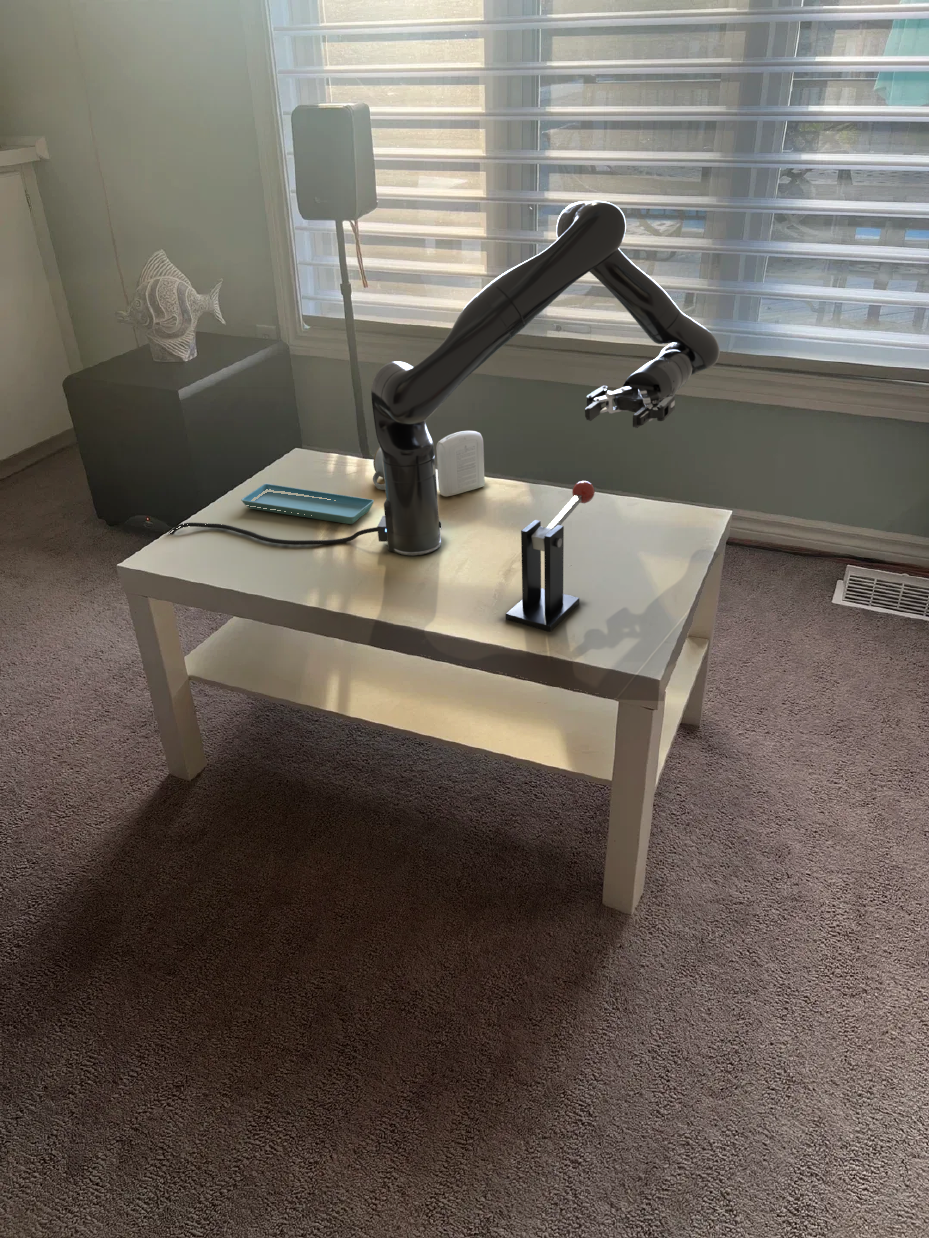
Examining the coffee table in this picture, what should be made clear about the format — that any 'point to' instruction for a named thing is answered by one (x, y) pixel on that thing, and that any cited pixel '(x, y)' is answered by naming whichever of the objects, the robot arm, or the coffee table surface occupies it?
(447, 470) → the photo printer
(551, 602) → the black lever stand
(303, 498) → the shallow long dish
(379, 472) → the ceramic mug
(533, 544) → the red knobbed lever
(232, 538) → the coffee table surface
